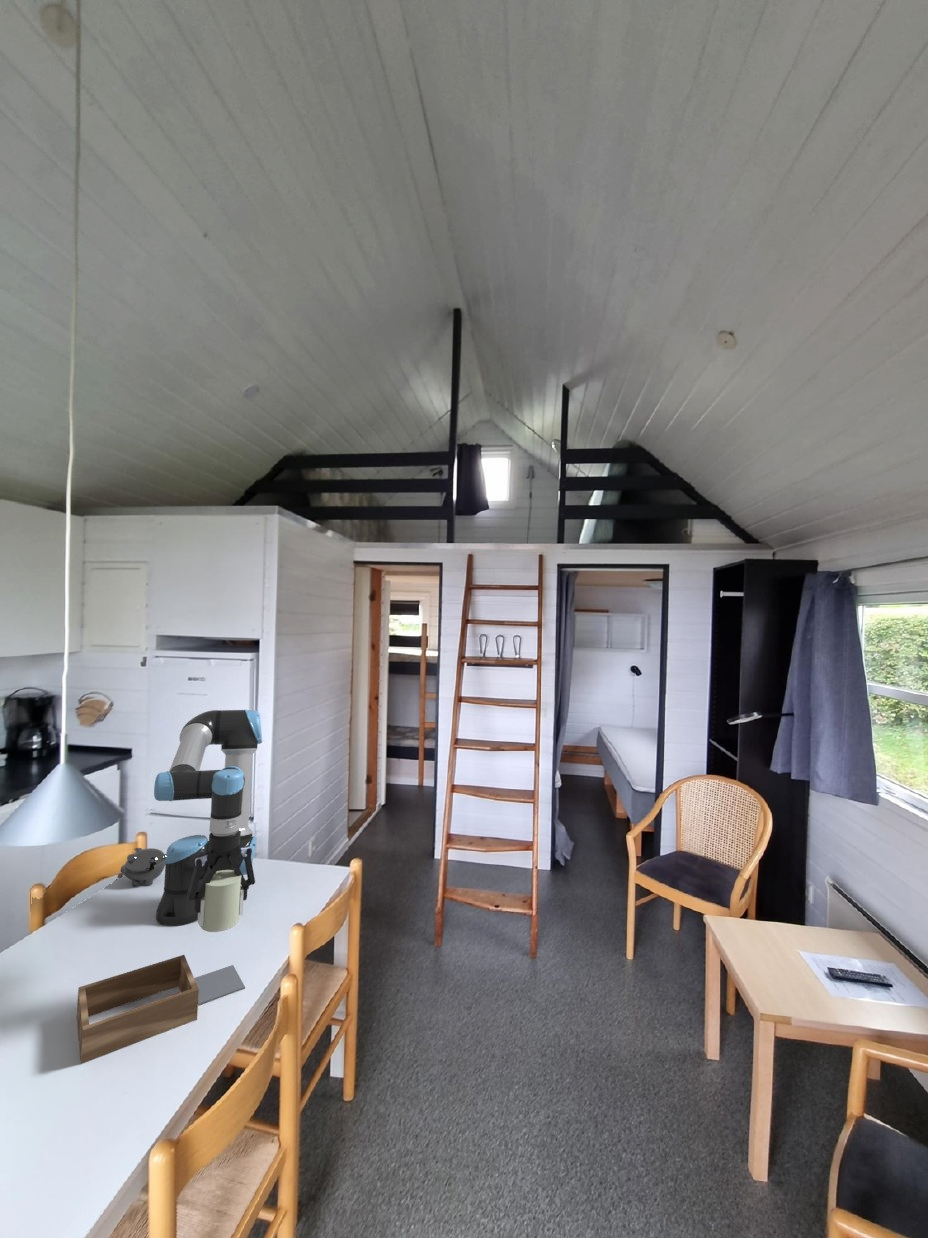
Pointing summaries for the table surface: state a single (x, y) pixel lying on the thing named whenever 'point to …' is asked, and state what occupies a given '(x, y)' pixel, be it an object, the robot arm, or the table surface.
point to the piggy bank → (144, 865)
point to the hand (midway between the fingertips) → (220, 918)
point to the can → (222, 901)
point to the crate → (139, 1020)
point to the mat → (218, 984)
